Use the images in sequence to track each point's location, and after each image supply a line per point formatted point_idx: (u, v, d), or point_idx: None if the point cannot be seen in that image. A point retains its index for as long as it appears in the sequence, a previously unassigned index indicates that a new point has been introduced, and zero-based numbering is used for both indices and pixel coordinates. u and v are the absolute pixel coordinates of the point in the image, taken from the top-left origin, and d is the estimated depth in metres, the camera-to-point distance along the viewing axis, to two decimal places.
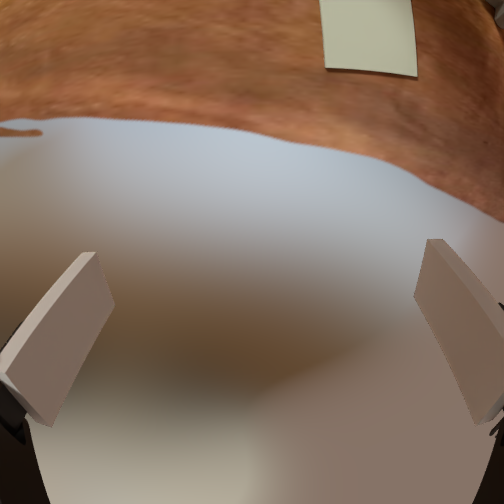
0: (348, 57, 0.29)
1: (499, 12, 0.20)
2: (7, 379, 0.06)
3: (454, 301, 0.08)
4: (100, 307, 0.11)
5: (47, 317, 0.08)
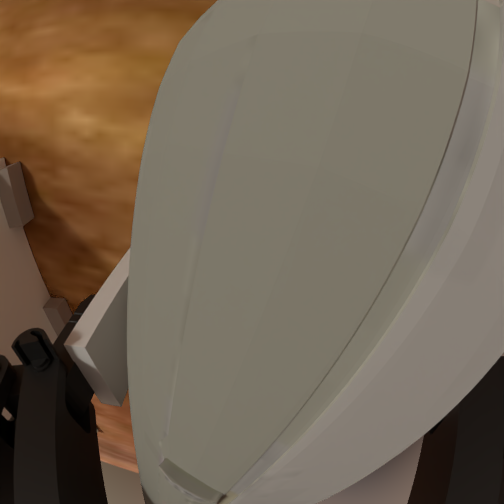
0: None
1: None
2: (84, 355, 0.07)
3: None
4: None
5: (120, 292, 0.09)
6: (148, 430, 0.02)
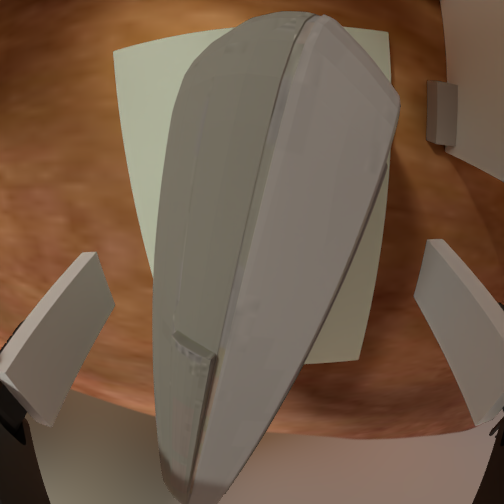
0: None
1: None
2: (7, 379, 0.06)
3: (454, 301, 0.08)
4: (100, 307, 0.11)
5: (47, 317, 0.08)
6: (165, 313, 0.04)
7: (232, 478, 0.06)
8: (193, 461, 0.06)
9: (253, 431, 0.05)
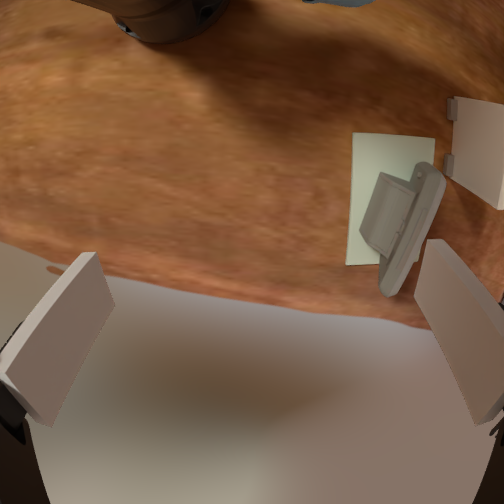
0: (365, 256, 0.43)
1: (381, 257, 0.40)
2: (7, 379, 0.06)
3: (454, 301, 0.08)
4: (100, 307, 0.11)
5: (47, 317, 0.08)
6: (421, 205, 0.28)
7: (416, 255, 0.30)
8: (414, 243, 0.30)
9: (427, 229, 0.29)
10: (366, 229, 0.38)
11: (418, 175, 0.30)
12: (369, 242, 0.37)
